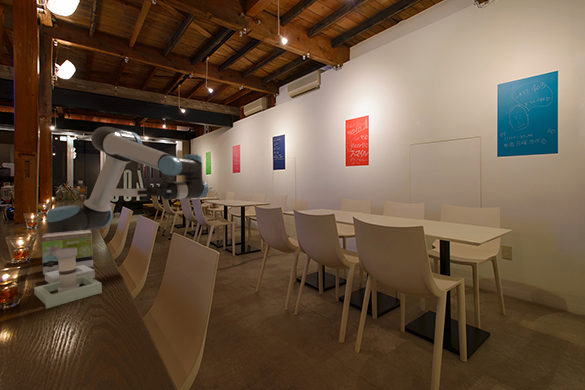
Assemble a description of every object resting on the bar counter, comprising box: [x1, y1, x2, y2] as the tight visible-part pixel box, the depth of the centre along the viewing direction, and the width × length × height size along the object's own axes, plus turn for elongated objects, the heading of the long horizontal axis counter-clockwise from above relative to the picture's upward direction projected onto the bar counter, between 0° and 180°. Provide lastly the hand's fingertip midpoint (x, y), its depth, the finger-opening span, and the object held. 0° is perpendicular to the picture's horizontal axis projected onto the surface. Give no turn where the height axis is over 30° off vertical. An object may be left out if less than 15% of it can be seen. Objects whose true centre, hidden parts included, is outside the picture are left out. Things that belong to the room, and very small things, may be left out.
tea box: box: [41, 230, 94, 276], centre depth 108 cm, size 15×10×15 cm
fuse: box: [56, 248, 80, 293], centre depth 83 cm, size 5×5×13 cm
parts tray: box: [33, 275, 103, 310], centre depth 83 cm, size 13×13×3 cm
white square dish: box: [44, 265, 96, 284], centre depth 95 cm, size 11×11×4 cm
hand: (118, 192), depth 100 cm, fingers open, 13 cm apart
